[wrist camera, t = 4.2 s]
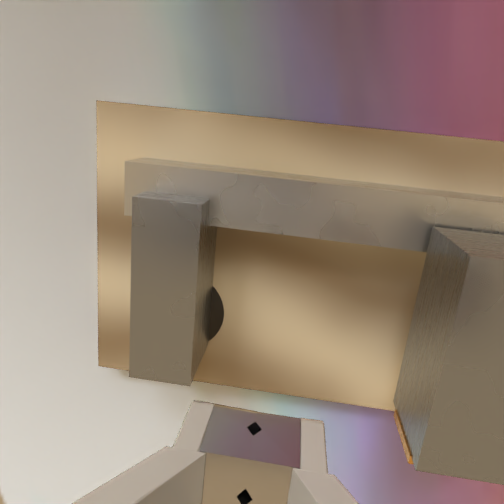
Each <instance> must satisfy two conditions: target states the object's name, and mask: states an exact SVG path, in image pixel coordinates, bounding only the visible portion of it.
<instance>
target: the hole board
mask: <svg viewBox="0 0 504 504" xmlns="http://www.w3.org/2000/svg"><path fill="white" fill-rule="evenodd" d="M143 157H146V158H155V159H164V160H173V161H182V162H191V163H200V164H209V165H218V166H227V167H236V168H245V169H254V170H263V171H272V172H281V173H290V174H299V175H308V176H317V177H326V178H335V179H344V180H353V181H362V182H371V183H380V184H389V185H399V186H408V187H417V188H426V189H435V190H444V191H453V192H462V193H471V194H480V195H489V196H498V197H504V142H503V141H493V140H483V139H473V138H463V137H453V136H444V135H434V134H424V133H414V132H404V131H394V130H384V129H374V128H364V127H354V126H344V125H334V124H324V123H315V122H305V121H295V120H285V119H275V118H265V117H255V116H245V115H235V114H225V113H215V112H205V111H195V110H185V109H176V108H166V107H156V106H146V105H136V104H126V103H116V102H106V101H97V230H98V359H99V366H102V367H109V368H115V369H122V370H128V371H129V355H130V293H131V230H132V216H126V215H124V182H125V161H128V160H133V159H138V158H143ZM426 254H427V252H420V251H412V250H404V249H395V248H387V247H379V246H371V245H363V244H355V243H346V242H338V241H330V240H322V239H314V238H306V237H297V236H289V235H281V234H273V233H265V232H257V231H249V230H240V229H232V228H224V227H217V237H216V250H215V263H214V276H213V288H212V302H211V315H210V328H209V342H208V346H207V348H206V351H205V353H204V355H203V358H202V360H201V362H200V365H199V367H198V369H197V371H196V374H195V376H194V378H193V380H194V381H200V382H207V383H213V384H220V385H227V386H233V387H240V388H246V389H253V390H259V391H266V392H272V393H279V394H285V395H292V396H299V397H305V398H312V399H318V400H325V401H331V402H338V403H344V404H351V405H358V406H364V407H371V408H377V409H384V410H390V411H395V406H394V402H393V400H394V396H395V391H396V387H397V382H398V378H399V374H400V369H401V365H402V360H403V356H404V351H405V347H406V342H407V338H408V334H409V329H410V325H411V320H412V316H413V311H414V307H415V303H416V298H417V294H418V289H419V285H420V280H421V276H422V272H423V267H424V263H425V258H426Z"/></svg>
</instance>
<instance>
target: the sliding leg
mask: <svg viewBox="0 0 504 504" xmlns="http://www.w3.org/2000/svg"><path fill="white" fill-rule="evenodd" d="M393 402H394V406H395V411H394V419H395V422H396V426H397V429H398V432H399V435H400V438H401V442H402V445H403V448H404V451H405V454H406V458H407V461H408V463H409V464H414V467H415V470H416V471H422V472H428V473H434V474H441V475H447V476H453V477H459V478H465V479H471V480H477V481H483V482H490V483H496V484H502V485H504V235H501V234H492V233H484V232H475V231H467V230H458V229H450V228H441V227H432V232H431V236H430V241H429V245H428V249H427V254H426V258H425V263H424V267H423V272H422V276H421V280H420V285H419V289H418V294H417V298H416V303H415V307H414V311H413V316H412V320H411V325H410V329H409V334H408V338H407V342H406V347H405V351H404V356H403V360H402V365H401V369H400V374H399V378H398V382H397V387H396V391H395V396H394V400H393Z"/></svg>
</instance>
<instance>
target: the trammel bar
mask: <svg viewBox="0 0 504 504" xmlns="http://www.w3.org/2000/svg"><path fill="white" fill-rule="evenodd" d="M124 215H126V216H132V230H131V293H130V355H129V377H134V378H141V379H147V380H154V381H160V382H167V383H173V384H180V385H186V386H190V385H191V383H192V381H193V378H194V376H195V374H196V371H197V369H198V367H199V365H200V362H201V360H202V358H203V355H204V353H205V351H206V348H207V346H208V342H209V328H210V315H211V302H212V288H213V276H214V263H215V250H216V237H217V227H224V228H232V229H240V230H249V231H257V232H265V233H273V234H281V235H289V236H297V237H306V238H314V239H322V240H330V241H338V242H346V243H355V244H363V245H371V246H379V247H387V248H395V249H404V250H412V251H420V252H427V249H428V245H429V241H430V236H431V232H432V227H441V228H450V229H458V230H467V231H475V232H484V233H492V234H501V235H504V197H498V196H489V195H480V194H471V193H462V192H453V191H444V190H435V189H426V188H417V187H408V186H399V185H389V184H380V183H371V182H362V181H353V180H344V179H335V178H326V177H317V176H308V175H299V174H290V173H281V172H272V171H263V170H254V169H245V168H236V167H227V166H218V165H209V164H200V163H191V162H182V161H173V160H164V159H155V158H146V157H143V158H138V159H133V160H128V161H125V182H124Z"/></svg>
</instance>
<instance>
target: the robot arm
mask: <svg viewBox="0 0 504 504" xmlns="http://www.w3.org/2000/svg"><path fill="white" fill-rule="evenodd" d="M72 504H359V503H358V502H357V501H356V500H355V499H354V497H353V496H352V495H351V494H350V493H349V492H348V490H347V489H346V488H345V487H344V486H343V484H342V483H341V482H340V481H339V480H338V479H337V477H336V476H335V475H331V474H328V468H327V456H326V443H325V430H324V423H323V421H320V420H313V419H305V418H293V417H287V416H280V415H273V414H267V413H260V412H257V411H252V410H246V409H241V408H235V407H230V406H224V405H219V404H213V403H207V402H201V401H195V400H194V401H193V402H192V403H191V405H190V407H189V409H188V412H187V414H186V417H185V419H184V421H183V424H182V426H181V428H180V431H179V433H178V436H177V438H176V440H175V443H174V445H173V447H167V446H166V447H164V448H163V449H161V450H159V451H158V452H156V453H154V454H153V455H151V456H149V457H148V458H146V459H144V460H143V461H141V462H139V463H138V464H136V465H135V466H133V467H131V468H130V469H128V470H126V471H125V472H123V473H121V474H120V475H118V476H116V477H115V478H113V479H111V480H110V481H108V482H106V483H105V484H103V485H102V486H100V487H98V488H97V489H95V490H93V491H92V492H90V493H88V494H87V495H85V496H83V497H82V498H80V499H78V500H77V501H75V502H73V503H72Z"/></svg>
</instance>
